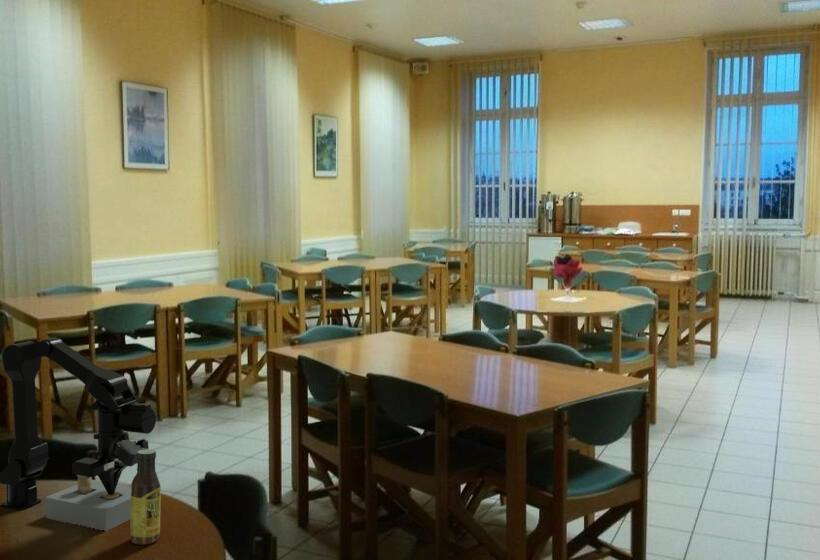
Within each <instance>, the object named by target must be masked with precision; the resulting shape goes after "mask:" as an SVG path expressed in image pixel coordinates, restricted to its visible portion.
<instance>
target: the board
mask: <svg viewBox="0 0 820 560" xmlns="http://www.w3.org/2000/svg"><path fill="white" fill-rule="evenodd" d="M115 492H119V497H118V498H116V499H114V500H107V499H104V498H103V494H104V493H107V491H106V489H105V488H104V486H103V484H102V482H101V480H99V479H92V492H91V493H89V494H86V495H83V494H78V483H77V484H75V485H73V486H70V487H68V488H65V489H62V490H60V491H58V492H55V493H52V494H50V495H47V496H46V497H45V519H50V520H53V521H58V522H63V523H66V522H69V523H68V524H71V523H73V524H72V525H75V524H78V525H77V526H80V525H82V526H81V527H84V526H86V527H85V528H89V527H91V528H90V529H93V528H95V530H98V529H99V531H102V530H104V531H103V532H108V531H110V530H112V529H114V528H116V527H118V526H119V525H122V524H124V523H126V522H128V521H130V511H131V486H128V485H124V484H119V483H117V486H116V489H115ZM109 529H110V530H109Z"/></svg>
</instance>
